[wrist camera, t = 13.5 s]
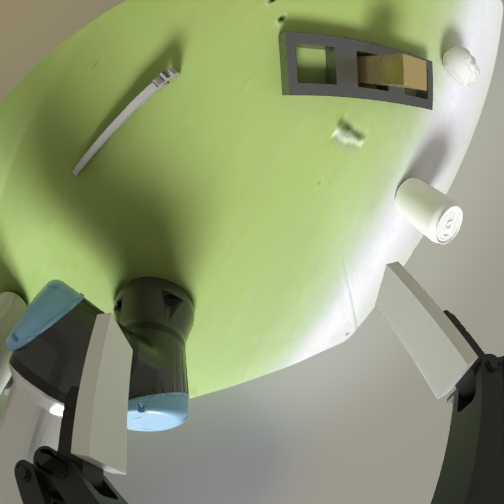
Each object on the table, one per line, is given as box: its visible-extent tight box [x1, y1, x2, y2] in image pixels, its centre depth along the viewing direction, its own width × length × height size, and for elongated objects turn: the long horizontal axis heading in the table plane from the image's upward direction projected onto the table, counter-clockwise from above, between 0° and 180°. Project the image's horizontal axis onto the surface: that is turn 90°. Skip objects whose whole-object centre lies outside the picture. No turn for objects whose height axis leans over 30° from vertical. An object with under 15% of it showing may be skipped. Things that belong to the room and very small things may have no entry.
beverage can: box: [395, 178, 463, 244], centre depth 40 cm, size 8×8×12 cm
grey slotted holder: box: [278, 32, 433, 110], centre depth 30 cm, size 9×26×3 cm, turn 94°
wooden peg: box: [357, 54, 427, 91], centre depth 26 cm, size 4×4×12 cm
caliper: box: [72, 67, 180, 176], centre depth 28 cm, size 20×1×6 cm, turn 126°
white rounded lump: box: [443, 47, 480, 86], centre depth 27 cm, size 8×8×8 cm
